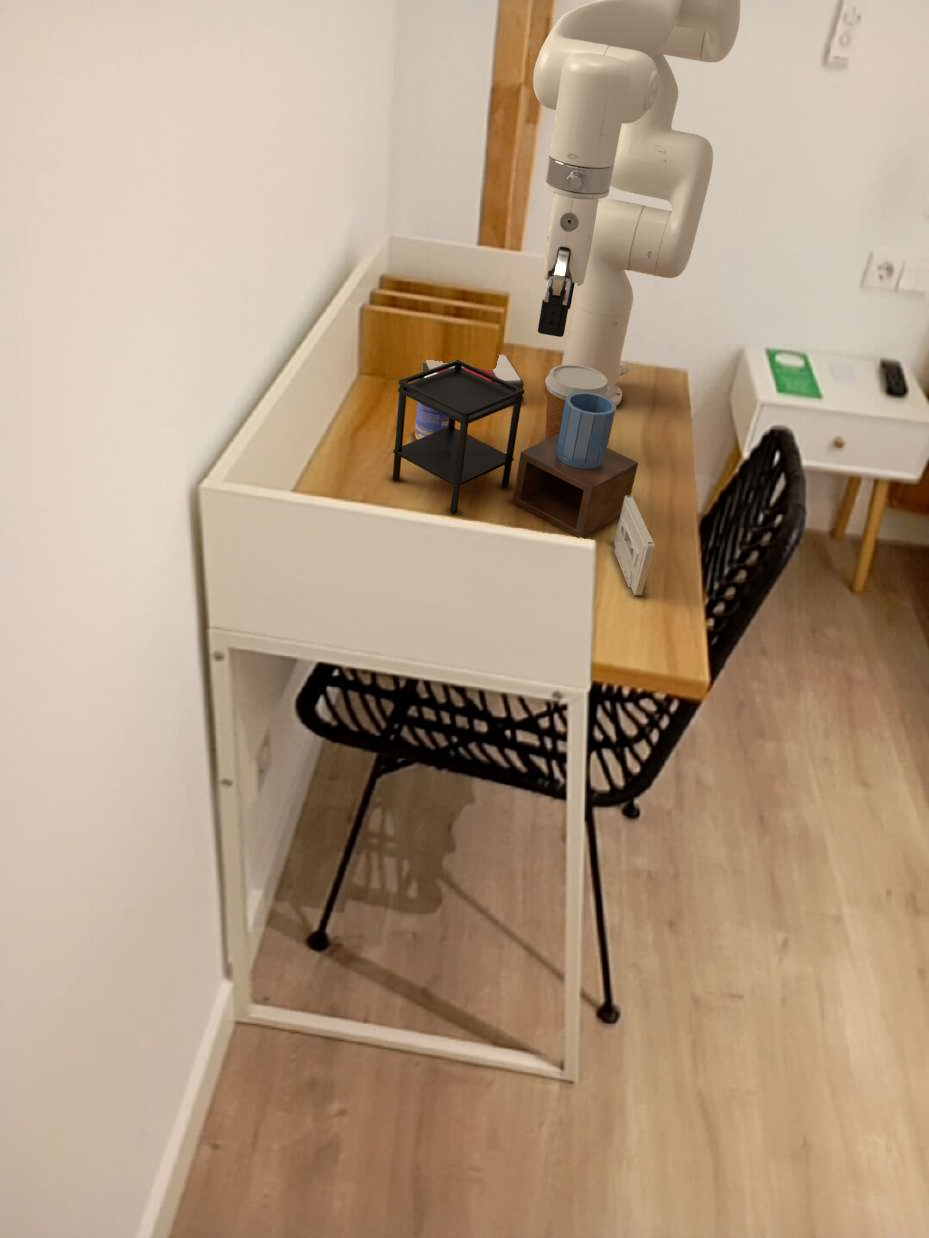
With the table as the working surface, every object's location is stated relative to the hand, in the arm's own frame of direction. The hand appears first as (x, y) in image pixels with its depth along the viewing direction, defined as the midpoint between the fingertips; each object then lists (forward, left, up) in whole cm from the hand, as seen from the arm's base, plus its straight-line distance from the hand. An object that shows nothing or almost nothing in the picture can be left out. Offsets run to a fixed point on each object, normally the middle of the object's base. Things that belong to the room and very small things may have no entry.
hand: (554, 320), depth 127 cm
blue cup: (-4, +6, -18) cm, 19 cm away
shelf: (-4, +5, -26) cm, 27 cm away
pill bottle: (-3, -20, -26) cm, 33 cm away
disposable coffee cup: (-17, -5, -26) cm, 32 cm away
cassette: (+3, +20, -26) cm, 33 cm away
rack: (+5, -10, -26) cm, 28 cm away
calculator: (-21, -28, -26) cm, 44 cm away
